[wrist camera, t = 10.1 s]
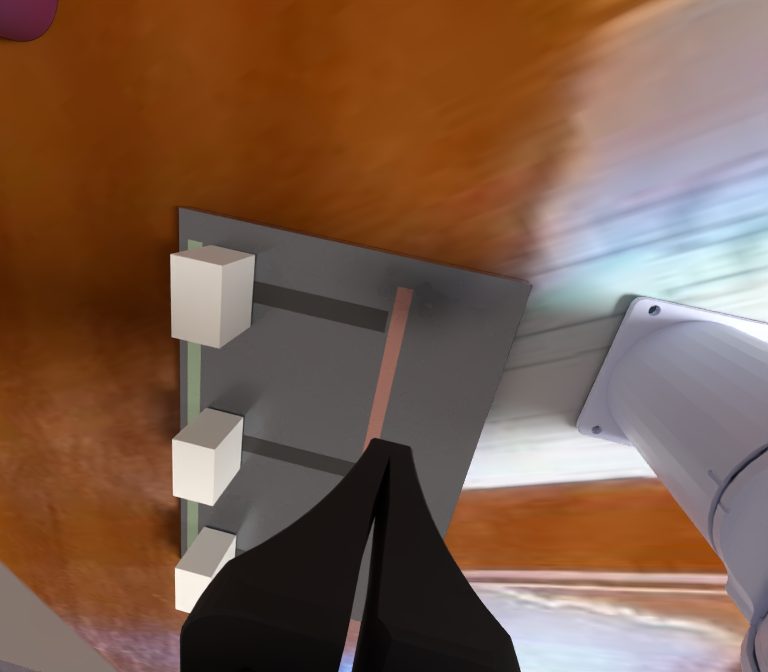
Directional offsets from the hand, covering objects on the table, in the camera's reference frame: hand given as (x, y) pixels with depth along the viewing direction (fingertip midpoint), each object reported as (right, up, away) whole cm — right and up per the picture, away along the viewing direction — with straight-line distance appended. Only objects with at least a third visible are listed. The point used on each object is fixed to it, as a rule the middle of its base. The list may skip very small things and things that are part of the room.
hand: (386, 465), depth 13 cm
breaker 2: (-12, -11, +15) cm, 22 cm away
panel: (-4, -3, +12) cm, 13 cm away
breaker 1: (-8, +7, +7) cm, 13 cm away
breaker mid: (-10, -2, +11) cm, 15 cm away
